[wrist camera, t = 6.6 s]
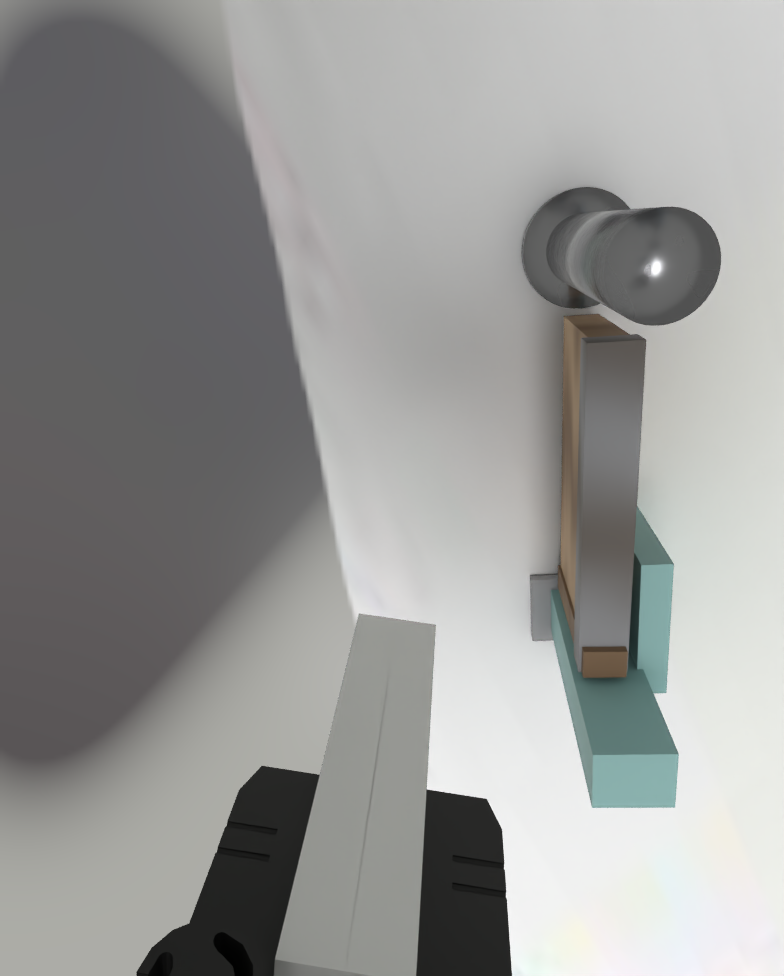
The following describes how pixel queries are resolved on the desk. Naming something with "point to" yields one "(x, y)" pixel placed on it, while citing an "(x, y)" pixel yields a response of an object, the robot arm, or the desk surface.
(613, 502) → the gate
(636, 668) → the stile
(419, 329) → the desk surface
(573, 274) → the hinge post
